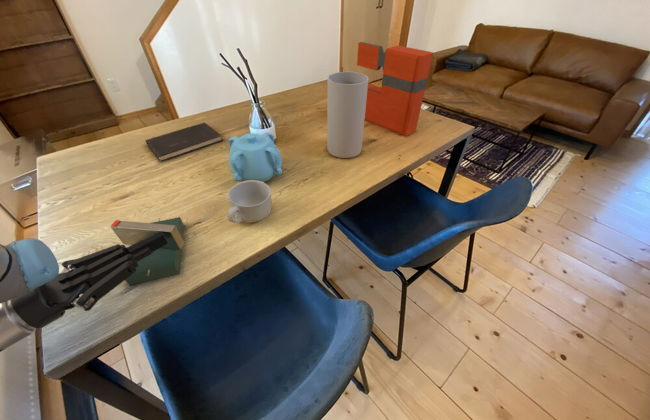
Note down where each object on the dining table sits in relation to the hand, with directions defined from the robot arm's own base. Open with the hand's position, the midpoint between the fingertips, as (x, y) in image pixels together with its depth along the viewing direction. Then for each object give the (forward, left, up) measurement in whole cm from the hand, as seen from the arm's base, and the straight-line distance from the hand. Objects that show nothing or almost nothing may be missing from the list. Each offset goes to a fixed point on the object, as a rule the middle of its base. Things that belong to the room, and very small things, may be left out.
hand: (164, 237), depth 59 cm
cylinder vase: (+61, -21, -8) cm, 65 cm away
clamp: (+91, -27, -8) cm, 95 cm away
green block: (0, +6, -8) cm, 10 cm away
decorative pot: (+37, +1, -8) cm, 38 cm away
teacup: (+18, -8, -8) cm, 22 cm away
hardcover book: (+45, +38, -8) cm, 59 cm away
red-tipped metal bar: (0, +6, -5) cm, 7 cm away
